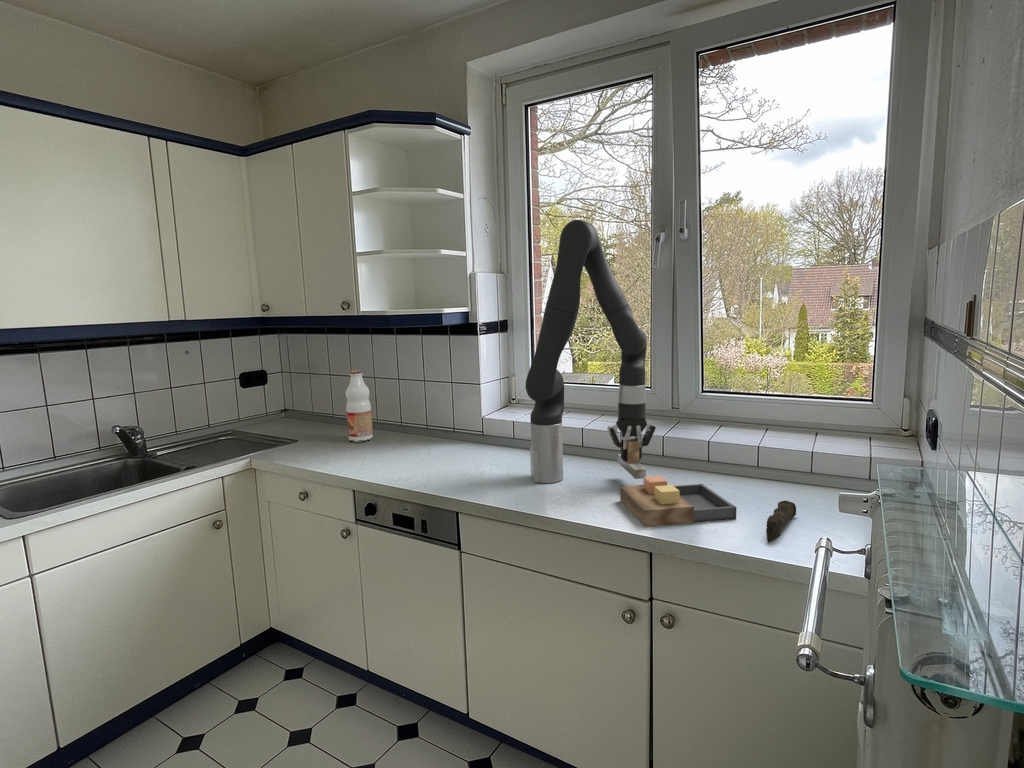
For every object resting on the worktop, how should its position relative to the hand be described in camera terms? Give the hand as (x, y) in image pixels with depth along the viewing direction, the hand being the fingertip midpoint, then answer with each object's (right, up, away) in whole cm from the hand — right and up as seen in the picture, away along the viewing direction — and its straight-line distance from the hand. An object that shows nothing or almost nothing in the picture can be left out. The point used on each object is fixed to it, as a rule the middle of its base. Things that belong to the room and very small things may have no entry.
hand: (631, 460), depth 163 cm
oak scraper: (0, -3, 0) cm, 3 cm away
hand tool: (+27, -12, -32) cm, 44 cm away
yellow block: (+4, -5, -23) cm, 24 cm away
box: (+13, -9, -18) cm, 24 cm away
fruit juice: (-94, -1, +68) cm, 116 cm away
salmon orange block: (+3, -4, -16) cm, 17 cm away
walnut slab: (+2, -10, -19) cm, 22 cm away
